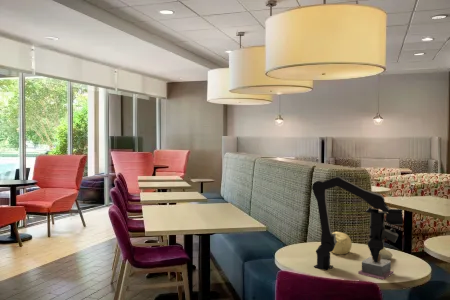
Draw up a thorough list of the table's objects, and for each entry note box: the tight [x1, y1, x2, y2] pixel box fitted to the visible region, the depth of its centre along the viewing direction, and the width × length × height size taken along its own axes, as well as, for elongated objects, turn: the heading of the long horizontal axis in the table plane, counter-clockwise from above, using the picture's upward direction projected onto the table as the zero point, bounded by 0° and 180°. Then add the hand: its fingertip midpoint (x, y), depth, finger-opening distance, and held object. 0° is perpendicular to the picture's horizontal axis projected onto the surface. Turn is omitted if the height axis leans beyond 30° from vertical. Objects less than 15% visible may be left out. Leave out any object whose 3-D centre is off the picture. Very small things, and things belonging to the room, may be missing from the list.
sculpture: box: [331, 231, 352, 255], centre depth 215 cm, size 12×12×11 cm
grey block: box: [358, 256, 395, 280], centre depth 183 cm, size 11×11×6 cm
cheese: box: [369, 247, 393, 260], centre depth 203 cm, size 15×7×15 cm
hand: (376, 258), depth 183 cm, fingers open, 9 cm apart
